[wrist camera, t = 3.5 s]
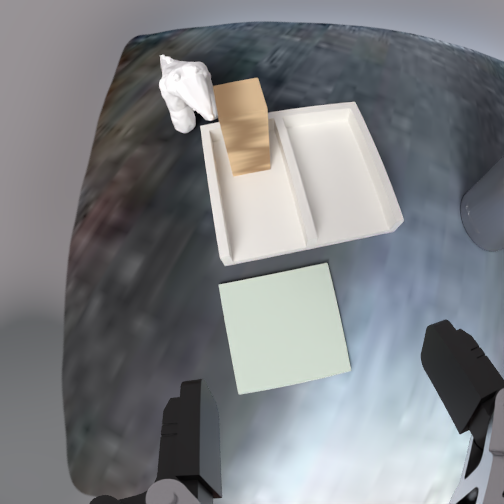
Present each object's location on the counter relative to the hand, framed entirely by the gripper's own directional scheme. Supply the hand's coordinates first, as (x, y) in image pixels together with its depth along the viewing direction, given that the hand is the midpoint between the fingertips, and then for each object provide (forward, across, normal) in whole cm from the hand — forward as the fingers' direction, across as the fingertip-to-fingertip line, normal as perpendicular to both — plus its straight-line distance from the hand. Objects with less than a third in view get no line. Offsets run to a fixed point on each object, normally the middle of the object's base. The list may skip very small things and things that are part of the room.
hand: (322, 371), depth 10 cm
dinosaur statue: (+42, +7, -8) cm, 43 cm away
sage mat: (+18, 0, +15) cm, 24 cm away
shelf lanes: (+30, -5, +3) cm, 31 cm away
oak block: (+32, 0, 0) cm, 32 cm away
